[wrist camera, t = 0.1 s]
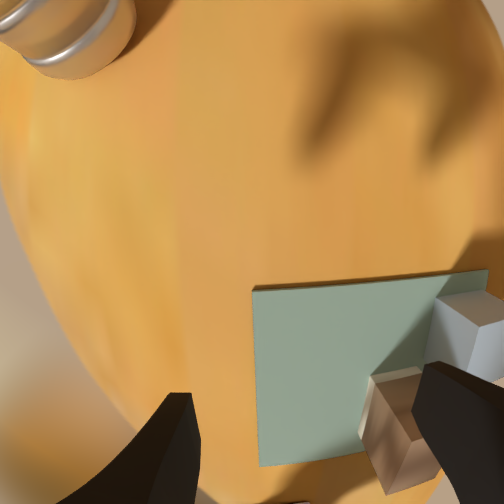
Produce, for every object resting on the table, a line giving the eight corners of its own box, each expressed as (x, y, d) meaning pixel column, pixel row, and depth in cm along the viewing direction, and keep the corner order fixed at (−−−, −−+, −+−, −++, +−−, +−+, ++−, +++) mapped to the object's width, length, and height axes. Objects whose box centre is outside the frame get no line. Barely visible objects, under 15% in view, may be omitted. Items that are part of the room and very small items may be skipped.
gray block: (469, 346, 20) (504, 376, 15) (423, 358, 20) (457, 395, 15) (482, 289, 19) (524, 313, 14) (435, 297, 18) (479, 327, 14)
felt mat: (442, 425, 22) (443, 426, 22) (259, 464, 21) (259, 466, 21) (486, 268, 19) (489, 270, 18) (251, 290, 18) (252, 292, 18)
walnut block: (400, 421, 21) (434, 478, 14) (357, 432, 21) (386, 495, 14) (416, 365, 20) (465, 421, 13) (369, 375, 19) (411, 441, 13)
